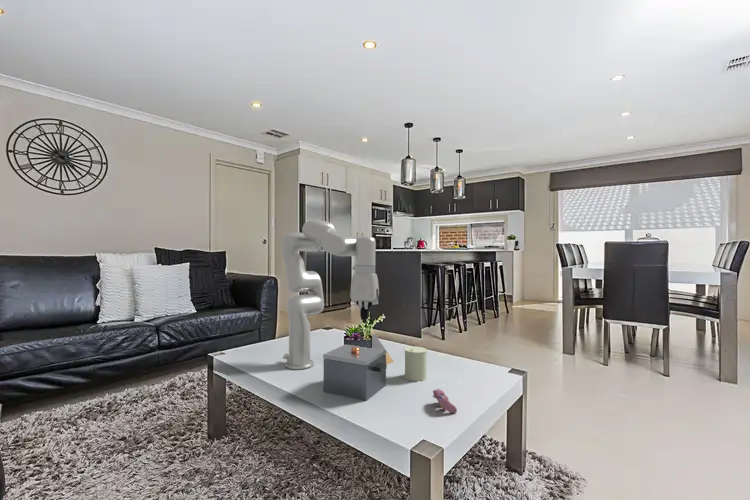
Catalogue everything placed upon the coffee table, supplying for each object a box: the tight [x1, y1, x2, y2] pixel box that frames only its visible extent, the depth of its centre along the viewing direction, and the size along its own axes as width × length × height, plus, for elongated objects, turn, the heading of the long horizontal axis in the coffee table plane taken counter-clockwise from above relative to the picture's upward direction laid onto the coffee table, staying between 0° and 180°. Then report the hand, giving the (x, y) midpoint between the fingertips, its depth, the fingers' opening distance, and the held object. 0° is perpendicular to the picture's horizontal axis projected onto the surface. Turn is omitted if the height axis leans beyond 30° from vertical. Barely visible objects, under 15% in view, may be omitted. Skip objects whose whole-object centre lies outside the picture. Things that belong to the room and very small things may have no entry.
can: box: [403, 346, 428, 382], centre depth 149 cm, size 9×9×12 cm
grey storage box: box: [322, 354, 388, 402], centre depth 136 cm, size 21×16×12 cm
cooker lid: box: [322, 343, 387, 366], centre depth 136 cm, size 18×16×3 cm
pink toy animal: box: [432, 388, 458, 414], centre depth 120 cm, size 10×5×7 cm, turn 7°
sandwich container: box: [372, 329, 395, 365], centre depth 171 cm, size 9×15×15 cm, turn 51°
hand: (364, 319), depth 135 cm, fingers closed
